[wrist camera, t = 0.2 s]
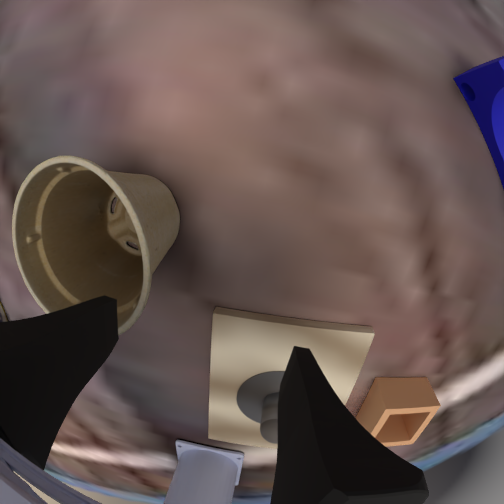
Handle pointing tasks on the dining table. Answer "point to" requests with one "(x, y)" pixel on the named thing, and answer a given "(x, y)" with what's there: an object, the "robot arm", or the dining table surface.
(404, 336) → the dining table surface
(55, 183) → the flower pot
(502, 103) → the cable clip
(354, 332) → the post plate
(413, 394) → the collar
